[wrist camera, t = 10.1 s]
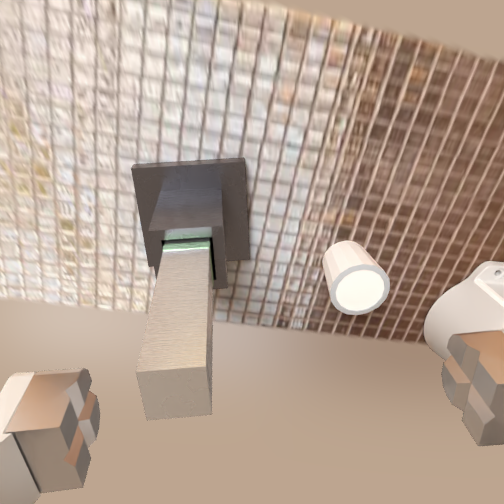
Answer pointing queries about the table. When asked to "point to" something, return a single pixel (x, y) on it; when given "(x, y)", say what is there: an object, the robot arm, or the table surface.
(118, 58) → the table surface
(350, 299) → the white tapered cup
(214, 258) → the sleeve stand
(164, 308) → the steel post
